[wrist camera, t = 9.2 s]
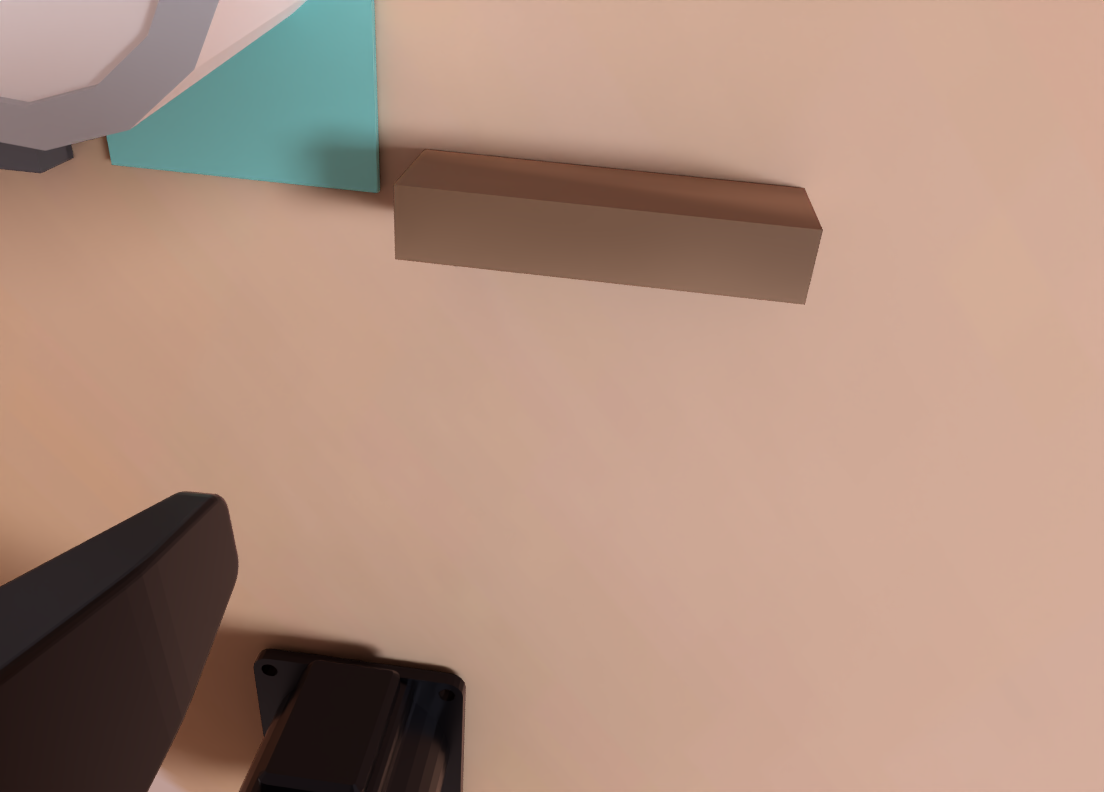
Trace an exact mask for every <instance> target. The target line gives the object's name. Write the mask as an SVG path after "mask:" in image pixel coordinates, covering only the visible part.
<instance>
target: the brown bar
mask: <svg viewBox="0 0 1104 792" xmlns="http://www.w3.org/2000/svg"><path fill="white" fill-rule="evenodd" d="M394 229H395V259H398V260H407V261H416V262H425V263H434V264H443V265H452V266H461V267H470V268H479V269H488V270H497V271H506V272H515V273H524V274H534V275H543V276H552V277H561V278H570V279H579V280H588V281H597V282H606V283H615V284H624V285H633V286H642V287H651V288H660V289H669V290H678V291H687V292H696V293H705V294H714V295H723V296H732V297H741V298H750V299H759V300H768V301H777V302H786V303H795V304H804V305H805V302H806V298H807V293H808V289H809V285H810V281H811V277H812V273H813V268H814V264H815V260H816V256H817V252H818V248H819V244H820V239H821V235H822V231H823V229H822V227H821V225H820V223H819V220H818V218H817V216H816V213H815V211H814V209H813V207H812V204H811V202H810V200H809V198H808V195H807V193H806V191H805V188H796V187H787V186H777V185H767V184H758V183H748V182H738V181H728V180H719V179H709V178H699V177H690V176H680V175H670V174H660V173H651V172H641V171H631V170H622V169H612V168H602V167H592V166H583V165H573V164H563V163H554V162H544V161H534V160H525V159H515V158H505V157H495V156H486V155H476V154H466V153H457V152H447V151H437V150H427V149H425V150H424V151H423V152H422V153H421V154H420V155H419V156H418V157H417V159H416V160H415V161H414V162H413V163H412V164H411V165H410V167H409V168H408V169H407V170H406V171H405V172H404V173H403V174H402V176H401V177H400V178H399V179H398V180H397V181H396V182H395V184H394Z"/></svg>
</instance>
